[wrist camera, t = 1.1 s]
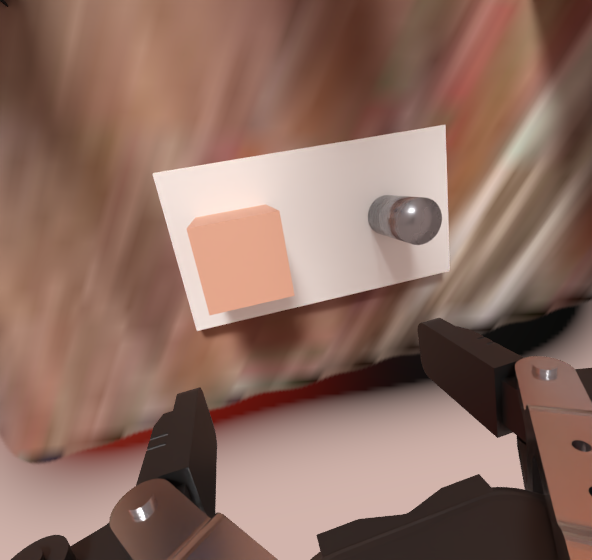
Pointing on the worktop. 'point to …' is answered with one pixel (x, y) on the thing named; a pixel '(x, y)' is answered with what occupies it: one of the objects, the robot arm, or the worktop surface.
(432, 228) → the steel post
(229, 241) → the salmon pink cube
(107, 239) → the worktop surface
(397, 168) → the white board
